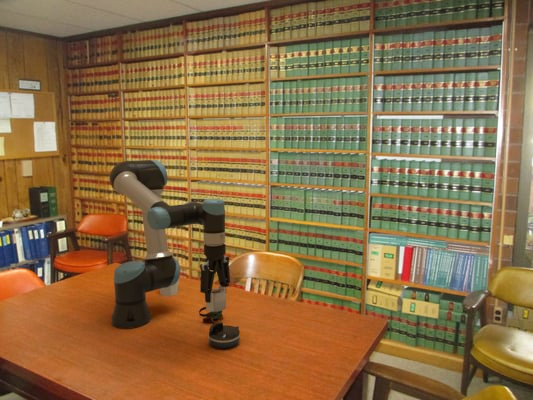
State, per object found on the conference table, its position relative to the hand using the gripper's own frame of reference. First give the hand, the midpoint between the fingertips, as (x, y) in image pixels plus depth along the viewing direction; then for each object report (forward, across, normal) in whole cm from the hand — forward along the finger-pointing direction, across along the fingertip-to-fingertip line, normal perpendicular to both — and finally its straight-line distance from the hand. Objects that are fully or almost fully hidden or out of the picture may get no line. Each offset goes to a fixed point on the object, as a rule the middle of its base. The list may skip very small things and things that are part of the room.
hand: (216, 307), depth 150 cm
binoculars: (+14, +15, +15) cm, 25 cm away
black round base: (+14, +2, -1) cm, 14 cm away
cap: (0, 0, 0) cm, 0 cm away
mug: (+13, +30, +52) cm, 61 cm away
